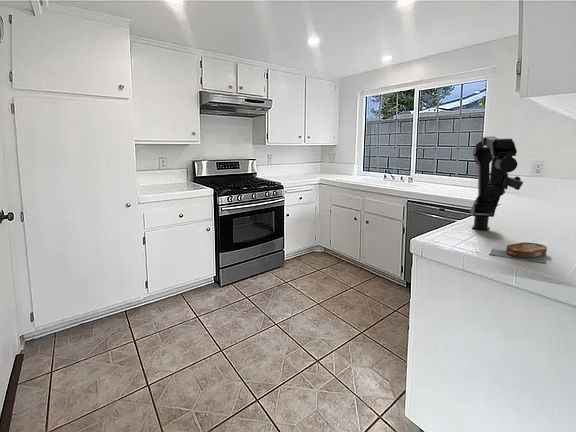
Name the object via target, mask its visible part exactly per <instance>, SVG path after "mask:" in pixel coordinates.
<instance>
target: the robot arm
mask: <svg viewBox="0 0 576 432" xmlns="http://www.w3.org/2000/svg"><path fill="white" fill-rule="evenodd" d="M517 152H518V151H517V146H516V144H515V141H513V139H512V138H498V137H496V136H484V137H482V139H481V140H480V141H479V142H478V143H477V144H475V145H474V149H473V151H472V157H473V158H474V159H473V160H474V161H473V162H475V164H476V165H477V166H478V167H477V168H478V169H477V174H478V176H477V179H478V180H477V181H478V182H477V183H478V184H477V186H478V188H477V190H478V191H477V192H478V193H477V197H476V198H475V200H474V201H473V202H474V203H473V204H472V206H471V208H470V215H471V216H472V217H474V221H473V226H472V227H471V229H472V230H477V231H478V230H481V231H489V229H490V226H489V219H490V218H494V216H495V215H496V214H495V212H496V209H497V207H498V204H499V201H500V199H501V197H502V196H503V195H504V194H505V193H506V190H508V188H509V187H510V188H513V189H515V190H517V191H519V190H520V189H521V187H522V186H523V184H524V181H523V180H521V177H520V176H515V177H511V176H509V173H512V172H514V171H515V170H516V169H517V167H518V162H517V160H516V158H514V157H516V156H517ZM490 164H491V165H490Z"/></svg>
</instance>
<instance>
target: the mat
mask: <svg viewBox="0 0 576 432" xmlns="http://www.w3.org/2000/svg"><path fill="white" fill-rule="evenodd" d="M489 256H495V257H501V258H507V259H513V260H521V261H527V262H534V263H539V264H546V256H545V255H543V256H538V257H534V258H519V257H516V256H512V255H508V254H507V253H506V250H503V249H496V248H491V250H490V252H489Z"/></svg>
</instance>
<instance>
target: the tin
mask: <svg viewBox="0 0 576 432" xmlns="http://www.w3.org/2000/svg"><path fill="white" fill-rule="evenodd" d="M547 250H548V247H547V246H546V245H544V244H541V243H535V242H523V241H522V242H519V243H518V242H517V243H512V244H507V245H506V250H505V251H506V253H507V254H508V255H512V256H516V257H519V258H534V257H538V256H545V255H546V254H547Z"/></svg>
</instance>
